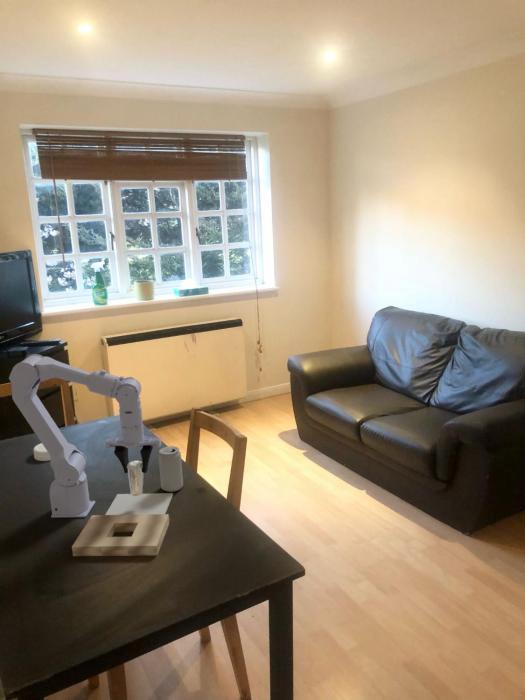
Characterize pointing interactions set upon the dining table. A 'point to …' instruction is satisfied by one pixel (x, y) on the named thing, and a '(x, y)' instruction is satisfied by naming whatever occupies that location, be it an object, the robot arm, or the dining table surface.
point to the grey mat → (140, 504)
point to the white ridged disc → (41, 453)
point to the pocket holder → (142, 542)
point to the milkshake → (135, 477)
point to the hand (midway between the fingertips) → (136, 471)
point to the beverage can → (170, 469)
